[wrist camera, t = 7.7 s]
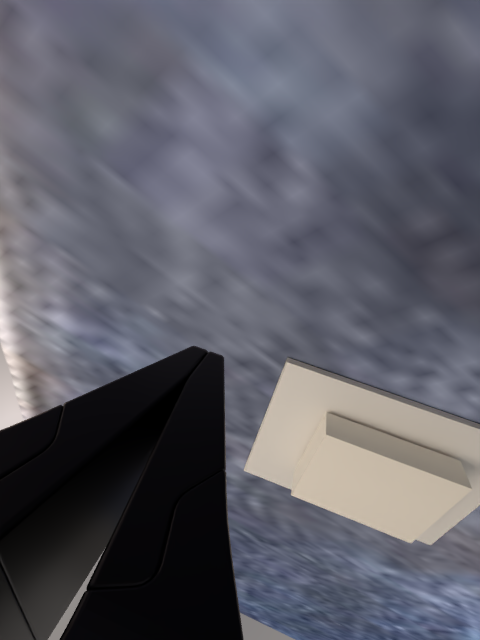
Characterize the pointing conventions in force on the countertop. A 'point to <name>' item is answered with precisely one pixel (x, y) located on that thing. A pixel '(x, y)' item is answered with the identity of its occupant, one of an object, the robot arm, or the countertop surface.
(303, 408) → the beige board
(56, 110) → the countertop surface
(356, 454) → the tile
